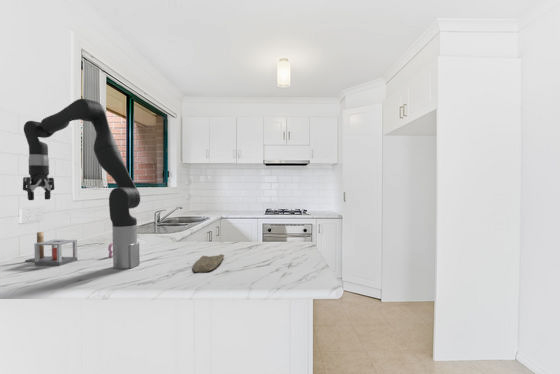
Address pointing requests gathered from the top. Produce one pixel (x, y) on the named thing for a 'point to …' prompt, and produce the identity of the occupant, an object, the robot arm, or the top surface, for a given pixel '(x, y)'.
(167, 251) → the top surface
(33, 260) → the pad
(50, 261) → the grey open cage
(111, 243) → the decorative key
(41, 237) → the oak dowel
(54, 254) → the plunger
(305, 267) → the top surface
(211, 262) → the stone tool
